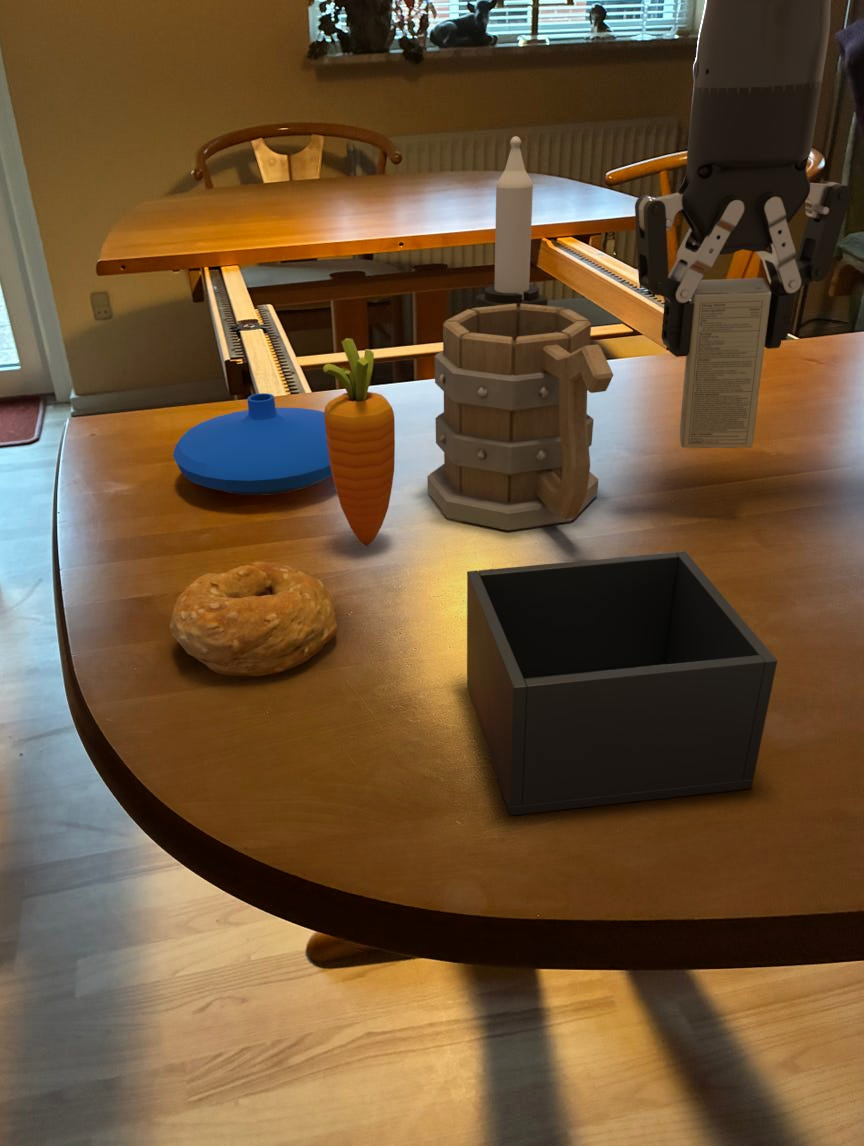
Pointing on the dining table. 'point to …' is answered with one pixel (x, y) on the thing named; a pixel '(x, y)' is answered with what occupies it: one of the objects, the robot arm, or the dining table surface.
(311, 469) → the vase
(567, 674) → the bin
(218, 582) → the bagel
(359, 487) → the carrot
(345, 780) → the dining table surface
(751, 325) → the box
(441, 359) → the tankard
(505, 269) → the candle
